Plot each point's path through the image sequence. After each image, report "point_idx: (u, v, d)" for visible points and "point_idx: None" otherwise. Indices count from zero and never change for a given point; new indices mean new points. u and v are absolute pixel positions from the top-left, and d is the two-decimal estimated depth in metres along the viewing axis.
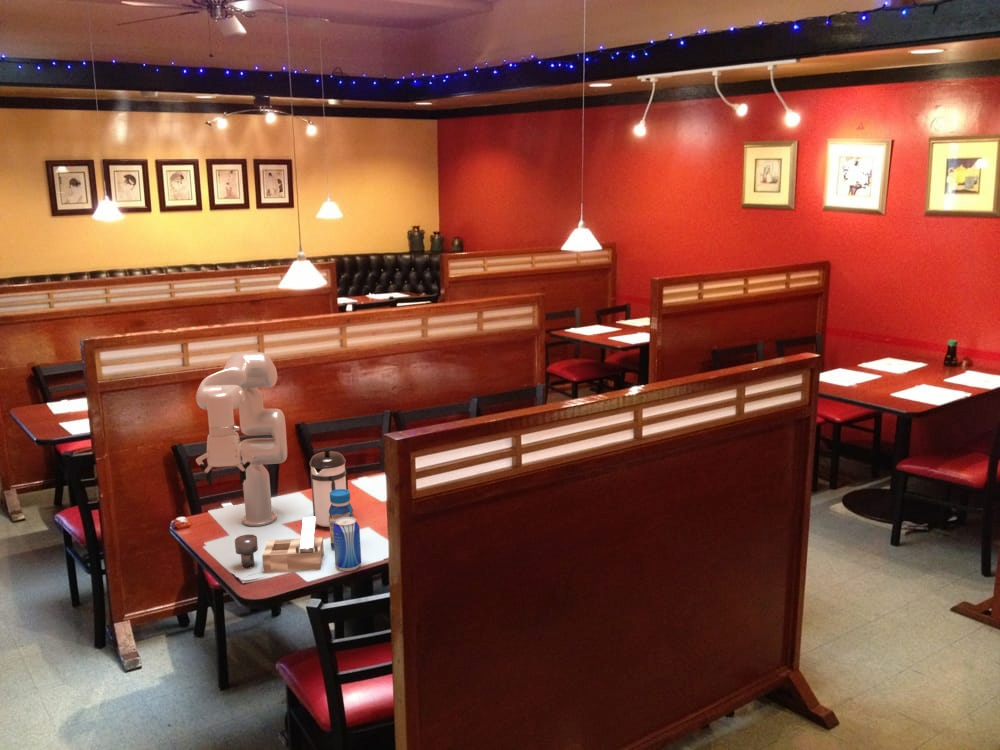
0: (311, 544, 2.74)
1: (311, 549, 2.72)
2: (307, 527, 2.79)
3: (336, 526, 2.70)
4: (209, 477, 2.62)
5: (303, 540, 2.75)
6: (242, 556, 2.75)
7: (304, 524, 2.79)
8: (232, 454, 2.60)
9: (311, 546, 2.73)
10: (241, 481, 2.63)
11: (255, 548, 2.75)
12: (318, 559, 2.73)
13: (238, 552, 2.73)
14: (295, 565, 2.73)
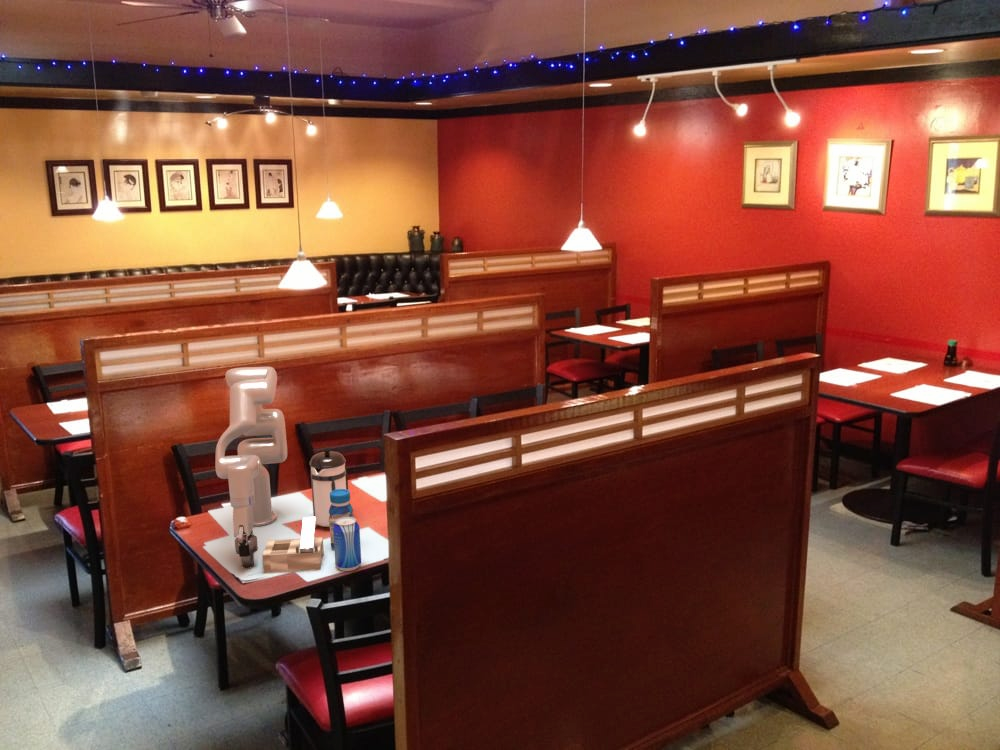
0: (311, 544, 2.74)
1: (311, 549, 2.72)
2: (307, 527, 2.79)
3: (336, 526, 2.70)
4: None
5: (303, 540, 2.75)
6: None
7: (304, 524, 2.79)
8: None
9: (311, 546, 2.73)
10: None
11: (255, 548, 2.75)
12: (318, 559, 2.73)
13: (238, 552, 2.73)
14: (295, 565, 2.73)
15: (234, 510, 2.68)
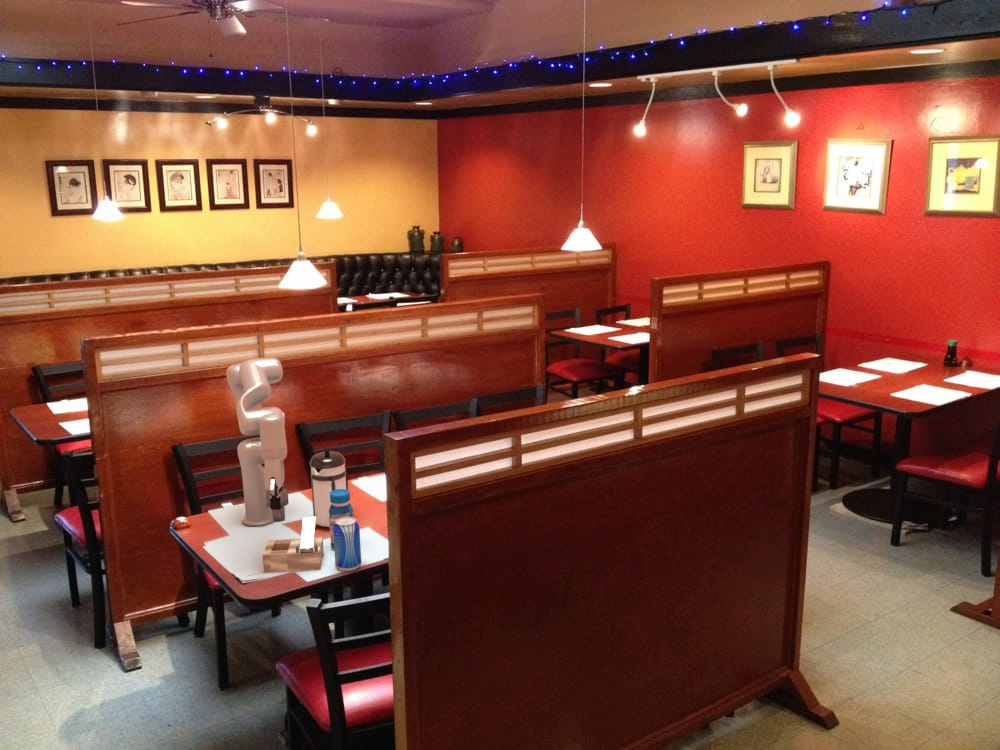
0: (311, 544, 2.74)
1: (311, 549, 2.72)
2: (307, 527, 2.79)
3: (336, 526, 2.70)
4: (280, 501, 2.70)
5: (303, 540, 2.75)
6: None
7: (304, 524, 2.79)
8: None
9: (311, 546, 2.73)
10: None
11: (286, 501, 2.72)
12: (318, 559, 2.73)
13: (269, 505, 2.71)
14: (295, 565, 2.73)
15: (266, 462, 2.66)
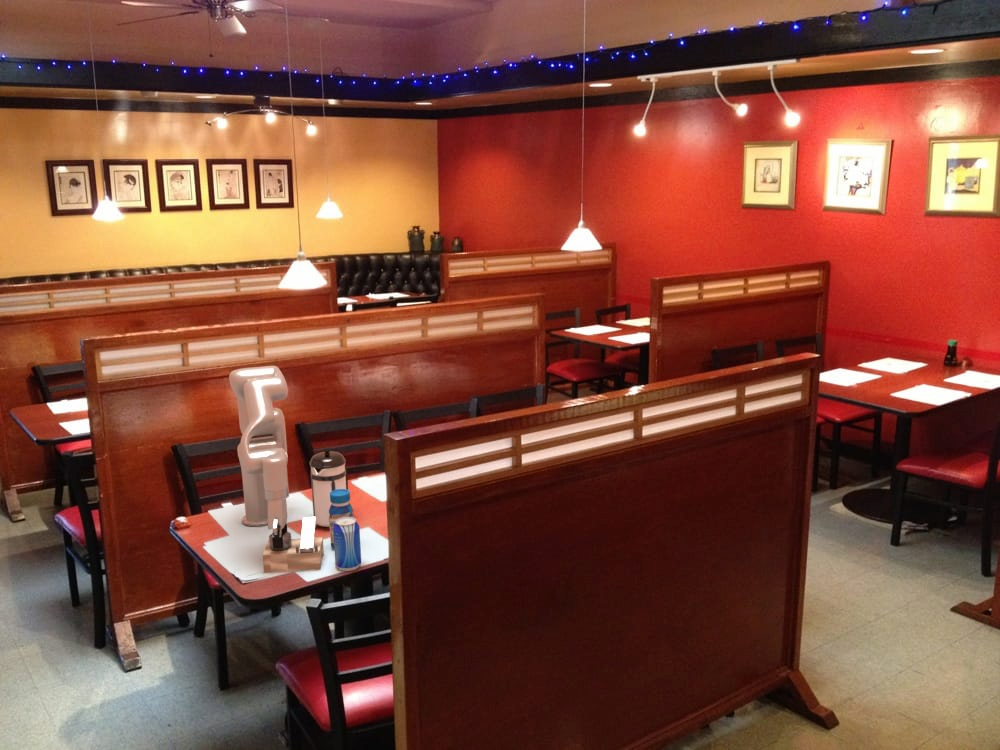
0: (311, 544, 2.74)
1: (311, 549, 2.72)
2: (307, 527, 2.79)
3: (336, 526, 2.70)
4: (282, 540, 2.72)
5: (303, 540, 2.75)
6: None
7: (304, 524, 2.79)
8: None
9: (311, 546, 2.73)
10: None
11: (289, 545, 2.76)
12: (318, 559, 2.73)
13: (272, 549, 2.74)
14: (295, 565, 2.73)
15: (269, 502, 2.69)
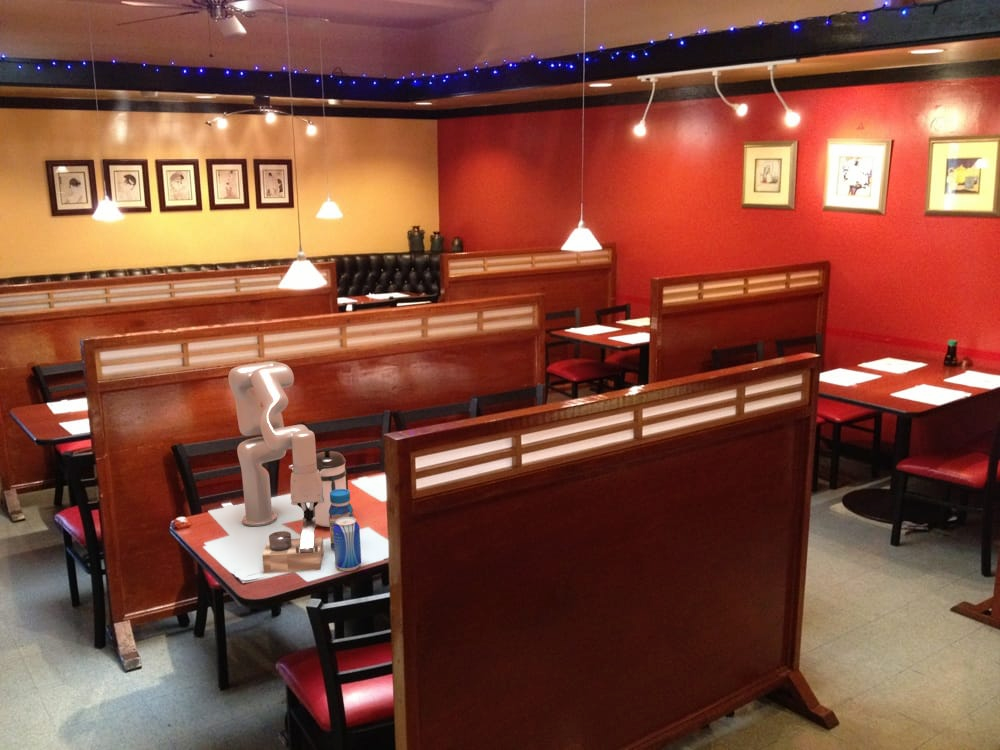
0: (311, 544, 2.74)
1: (311, 549, 2.72)
2: (307, 527, 2.79)
3: (336, 526, 2.70)
4: None
5: (303, 540, 2.75)
6: None
7: (304, 524, 2.80)
8: None
9: (311, 546, 2.73)
10: None
11: (289, 545, 2.76)
12: (318, 559, 2.73)
13: (272, 549, 2.74)
14: (295, 565, 2.73)
15: (318, 474, 2.75)
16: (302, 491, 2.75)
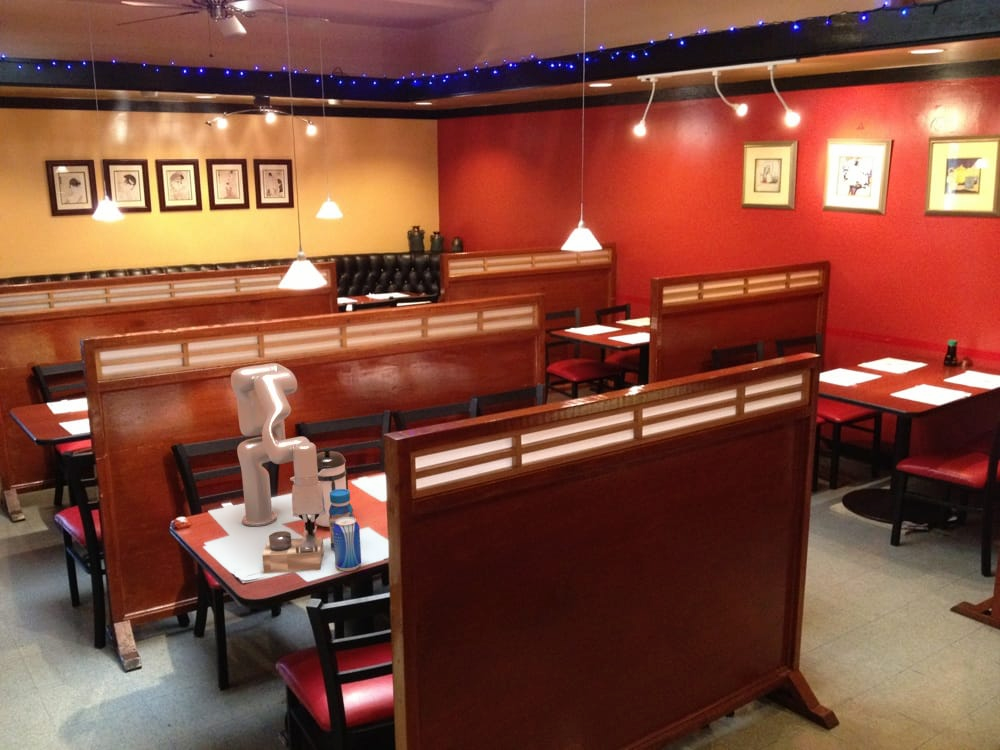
0: (311, 544, 2.74)
1: (311, 548, 2.73)
2: None
3: (336, 526, 2.70)
4: None
5: (304, 542, 2.76)
6: None
7: (305, 531, 2.82)
8: None
9: (311, 546, 2.74)
10: None
11: (289, 545, 2.76)
12: (318, 559, 2.73)
13: (272, 549, 2.74)
14: (295, 565, 2.73)
15: (319, 486, 2.76)
16: (303, 503, 2.76)
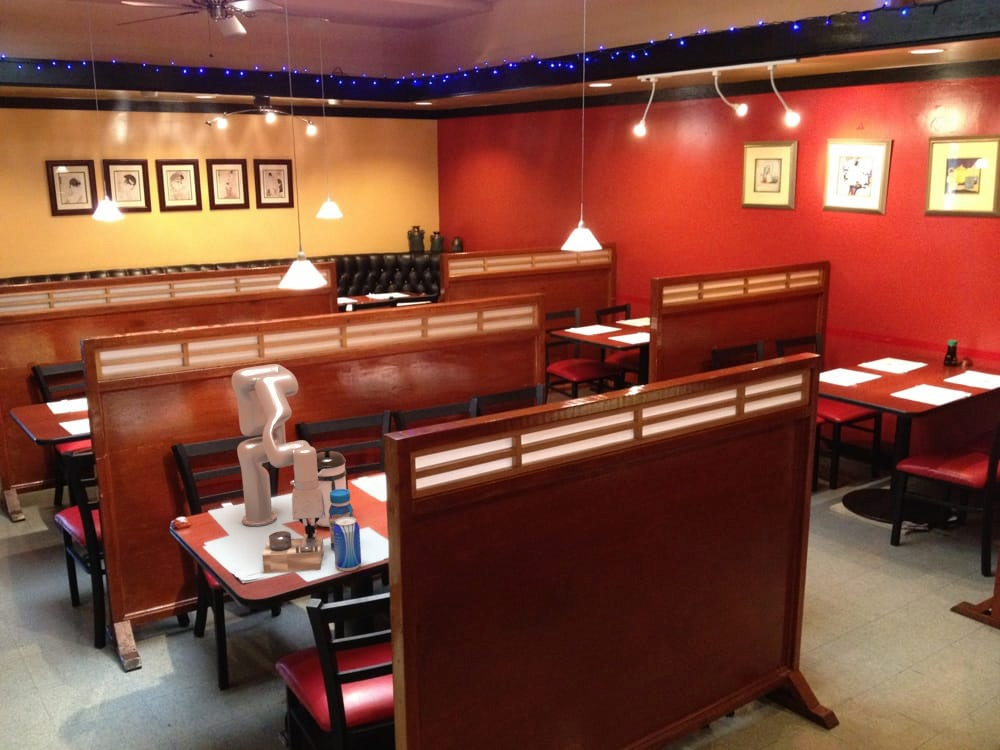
0: (311, 545, 2.75)
1: (311, 547, 2.73)
2: None
3: (336, 526, 2.70)
4: None
5: (304, 543, 2.76)
6: None
7: (306, 534, 2.82)
8: None
9: (311, 546, 2.74)
10: None
11: (289, 545, 2.76)
12: (318, 559, 2.73)
13: (272, 549, 2.74)
14: (295, 565, 2.73)
15: (319, 490, 2.76)
16: (303, 507, 2.76)
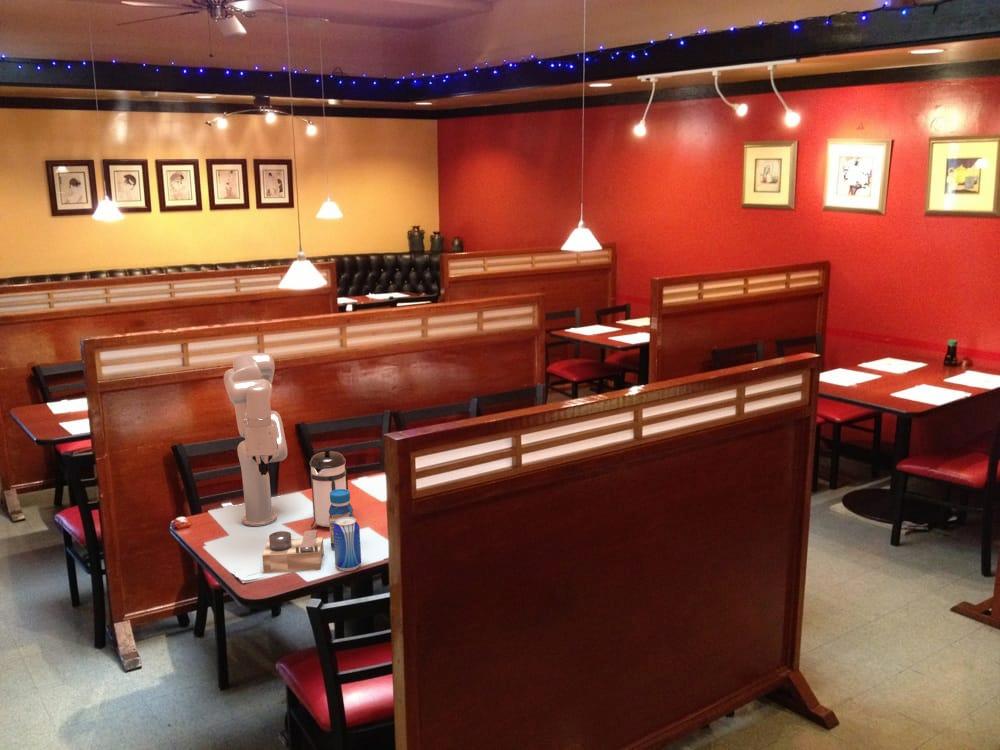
0: (311, 545, 2.75)
1: (311, 547, 2.73)
2: (309, 536, 2.81)
3: (336, 526, 2.70)
4: None
5: (304, 543, 2.76)
6: None
7: (306, 534, 2.82)
8: None
9: (311, 546, 2.74)
10: None
11: (289, 545, 2.76)
12: (318, 559, 2.73)
13: (272, 549, 2.74)
14: (295, 565, 2.73)
15: (272, 427, 2.79)
16: (256, 444, 2.79)
